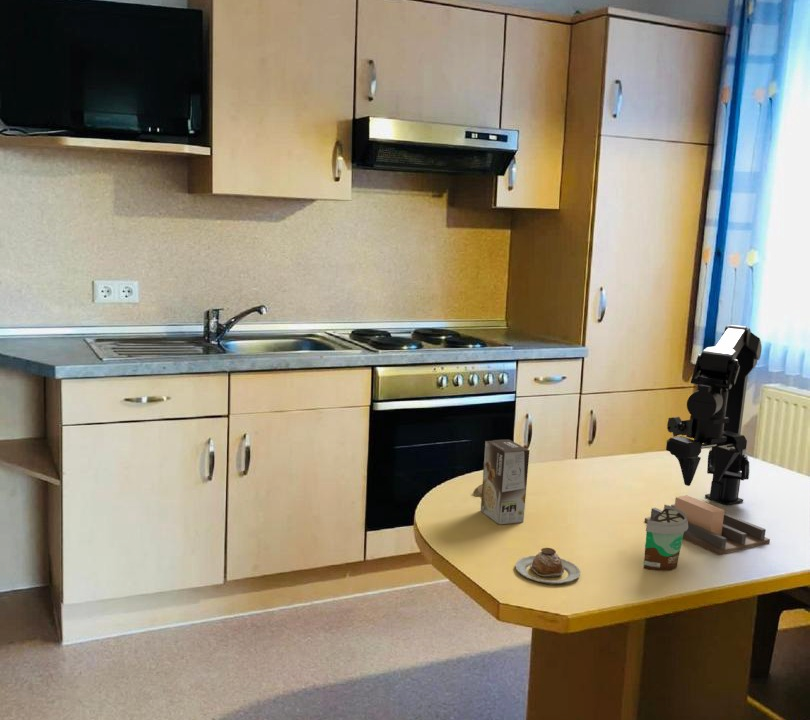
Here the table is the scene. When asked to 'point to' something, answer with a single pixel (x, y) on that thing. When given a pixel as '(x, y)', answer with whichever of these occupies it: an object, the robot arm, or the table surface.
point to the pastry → (548, 567)
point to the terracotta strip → (701, 513)
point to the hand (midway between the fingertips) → (702, 482)
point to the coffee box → (504, 481)
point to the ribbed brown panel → (723, 534)
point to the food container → (664, 539)
